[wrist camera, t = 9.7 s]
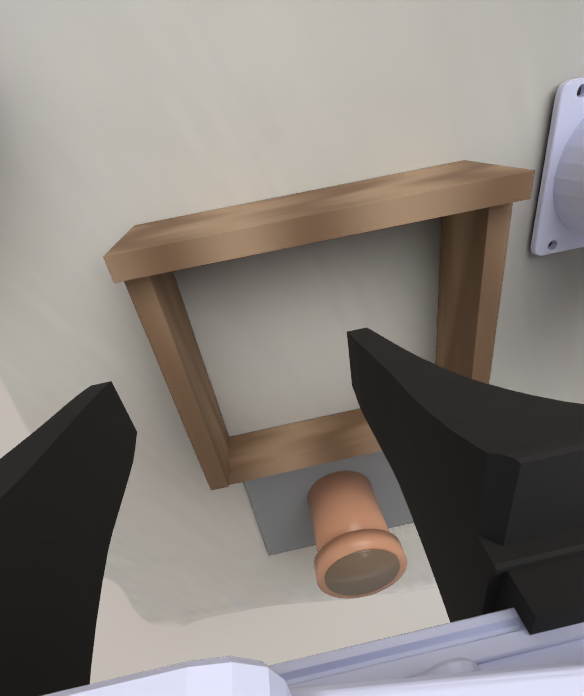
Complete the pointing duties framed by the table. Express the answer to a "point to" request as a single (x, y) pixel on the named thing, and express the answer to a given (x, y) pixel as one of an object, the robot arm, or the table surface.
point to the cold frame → (308, 227)
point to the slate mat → (292, 505)
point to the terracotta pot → (352, 537)
